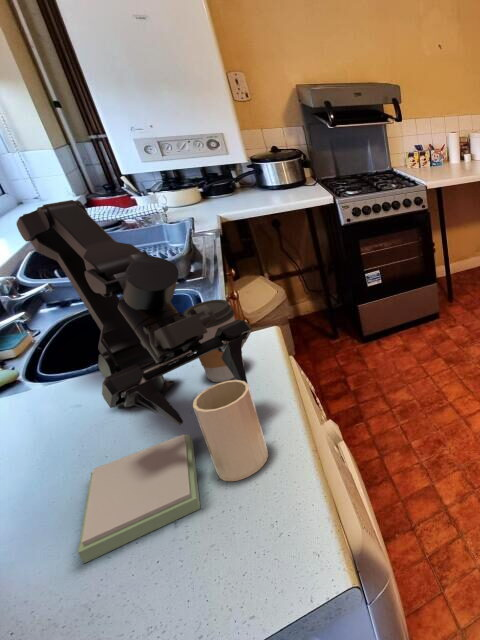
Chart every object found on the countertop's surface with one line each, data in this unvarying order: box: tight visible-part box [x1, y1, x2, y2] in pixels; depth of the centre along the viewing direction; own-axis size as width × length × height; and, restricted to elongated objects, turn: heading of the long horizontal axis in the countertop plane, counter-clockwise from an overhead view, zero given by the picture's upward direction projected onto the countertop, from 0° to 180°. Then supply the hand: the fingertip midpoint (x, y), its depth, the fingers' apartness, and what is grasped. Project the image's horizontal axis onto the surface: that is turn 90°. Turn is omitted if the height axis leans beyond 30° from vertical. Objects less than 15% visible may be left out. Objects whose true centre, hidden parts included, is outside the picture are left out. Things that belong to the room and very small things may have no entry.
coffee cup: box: [183, 299, 245, 383], centre depth 86 cm, size 8×8×15 cm
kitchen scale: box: [77, 433, 201, 564], centre depth 62 cm, size 15×12×3 cm
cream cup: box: [192, 379, 269, 482], centre depth 65 cm, size 7×7×13 cm
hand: (215, 404), depth 65 cm, fingers open, 9 cm apart
